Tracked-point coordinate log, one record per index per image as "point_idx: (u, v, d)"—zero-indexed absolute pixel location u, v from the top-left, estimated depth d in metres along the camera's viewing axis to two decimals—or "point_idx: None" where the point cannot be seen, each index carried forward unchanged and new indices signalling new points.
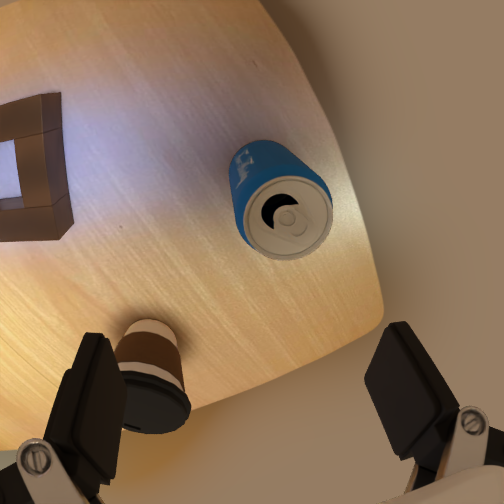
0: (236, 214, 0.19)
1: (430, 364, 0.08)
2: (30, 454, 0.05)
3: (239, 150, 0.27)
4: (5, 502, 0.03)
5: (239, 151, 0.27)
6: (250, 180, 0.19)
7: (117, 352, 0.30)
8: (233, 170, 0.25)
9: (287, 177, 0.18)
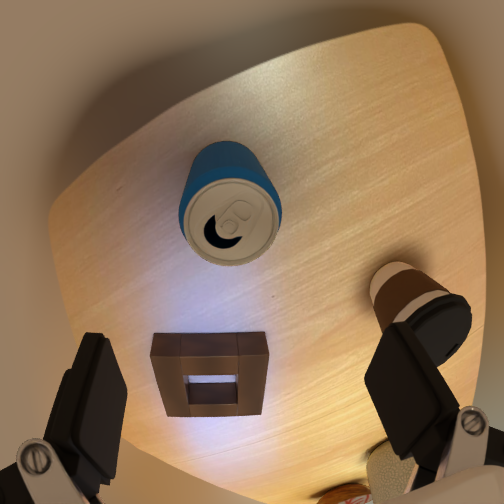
0: None
1: (430, 364, 0.08)
2: (30, 454, 0.05)
3: None
4: (5, 502, 0.03)
5: None
6: None
7: None
8: (213, 220, 0.26)
9: (185, 231, 0.18)
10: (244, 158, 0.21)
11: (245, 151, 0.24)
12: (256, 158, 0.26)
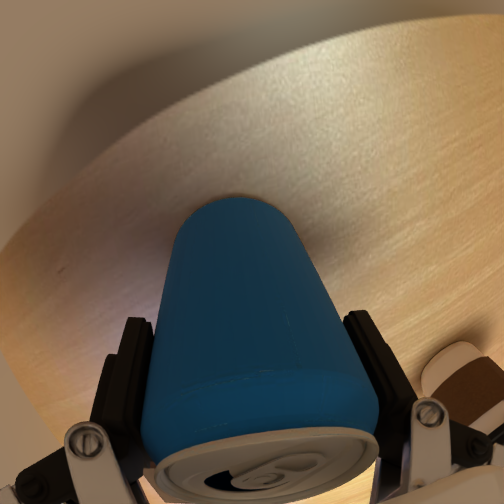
0: None
1: (386, 352, 0.08)
2: (79, 438, 0.05)
3: None
4: (48, 496, 0.04)
5: None
6: None
7: None
8: None
9: (163, 487, 0.06)
10: (293, 286, 0.08)
11: (281, 234, 0.12)
12: (298, 237, 0.13)
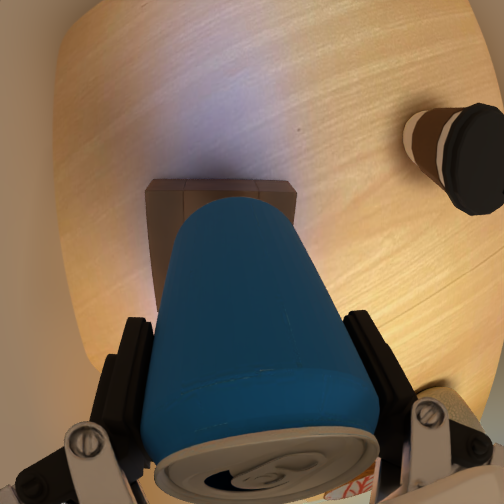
0: None
1: (386, 352, 0.08)
2: (79, 438, 0.05)
3: None
4: (48, 496, 0.04)
5: None
6: None
7: (427, 167, 0.26)
8: None
9: (162, 487, 0.06)
10: (293, 285, 0.08)
11: (282, 233, 0.12)
12: (298, 237, 0.13)
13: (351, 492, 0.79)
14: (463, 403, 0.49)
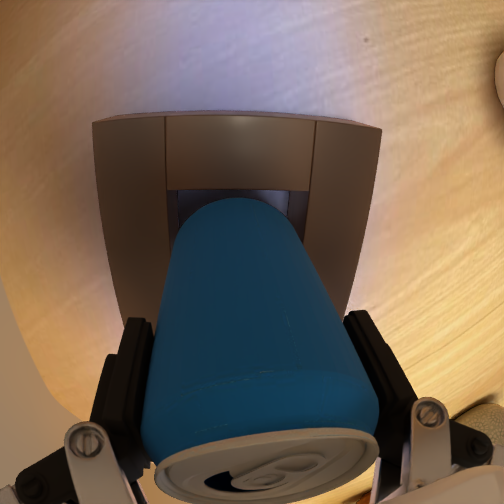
0: None
1: (386, 352, 0.08)
2: (79, 438, 0.05)
3: None
4: (48, 496, 0.04)
5: None
6: None
7: None
8: None
9: (163, 488, 0.06)
10: (293, 286, 0.08)
11: (281, 234, 0.12)
12: (298, 238, 0.13)
13: None
14: None
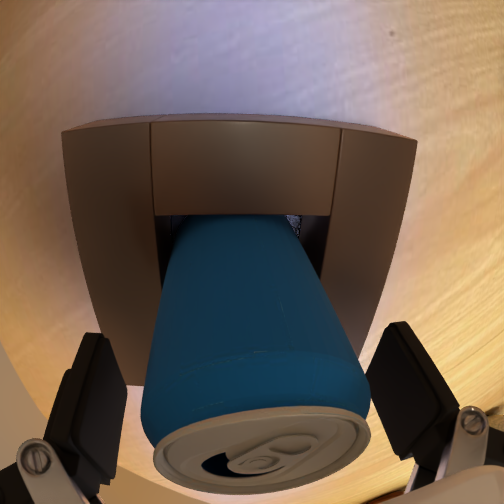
0: None
1: (430, 364, 0.08)
2: (30, 454, 0.05)
3: None
4: (5, 502, 0.03)
5: None
6: None
7: None
8: None
9: (161, 471, 0.06)
10: (287, 276, 0.09)
11: (278, 229, 0.12)
12: (294, 233, 0.14)
13: None
14: None
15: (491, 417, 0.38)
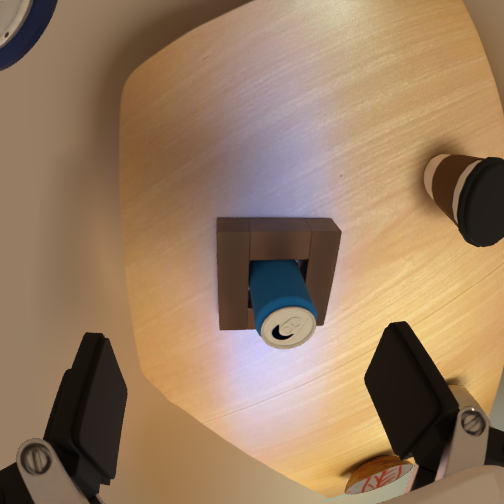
0: None
1: (430, 364, 0.08)
2: (30, 454, 0.05)
3: None
4: (5, 502, 0.03)
5: None
6: None
7: (444, 207, 0.32)
8: None
9: (261, 333, 0.30)
10: (293, 280, 0.33)
11: (290, 264, 0.36)
12: (296, 264, 0.38)
13: (369, 486, 0.83)
14: (472, 399, 0.54)
15: (448, 385, 0.61)
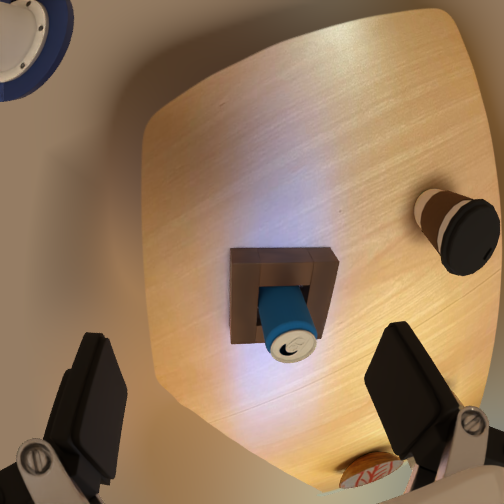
0: None
1: (430, 364, 0.08)
2: (30, 454, 0.05)
3: None
4: (5, 502, 0.03)
5: None
6: None
7: (430, 240, 0.37)
8: None
9: (271, 351, 0.36)
10: (297, 305, 0.38)
11: (294, 289, 0.41)
12: (299, 288, 0.43)
13: (362, 481, 0.90)
14: (457, 401, 0.61)
15: None
